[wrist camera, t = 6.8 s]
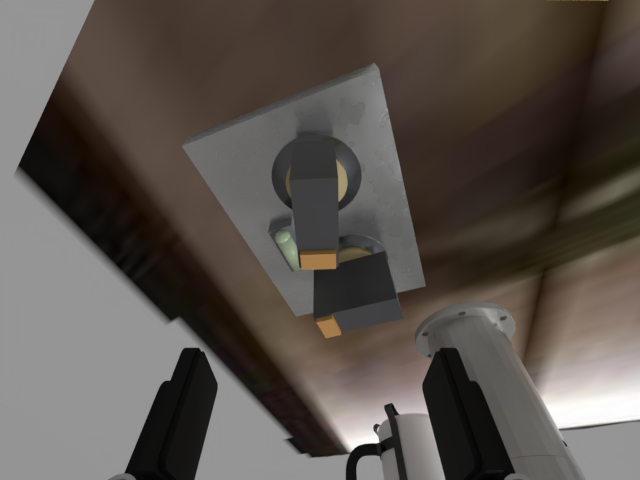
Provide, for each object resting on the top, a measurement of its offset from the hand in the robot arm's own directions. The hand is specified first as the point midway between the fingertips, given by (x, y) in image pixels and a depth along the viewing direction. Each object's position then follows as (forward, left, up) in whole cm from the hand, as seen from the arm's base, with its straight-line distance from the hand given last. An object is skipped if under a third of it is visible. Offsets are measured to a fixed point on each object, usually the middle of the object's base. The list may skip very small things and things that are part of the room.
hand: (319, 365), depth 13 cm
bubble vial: (-5, +5, -16) cm, 17 cm away
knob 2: (-10, 0, -16) cm, 18 cm away
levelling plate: (-5, +1, -18) cm, 18 cm away
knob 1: (0, 0, -16) cm, 16 cm away
